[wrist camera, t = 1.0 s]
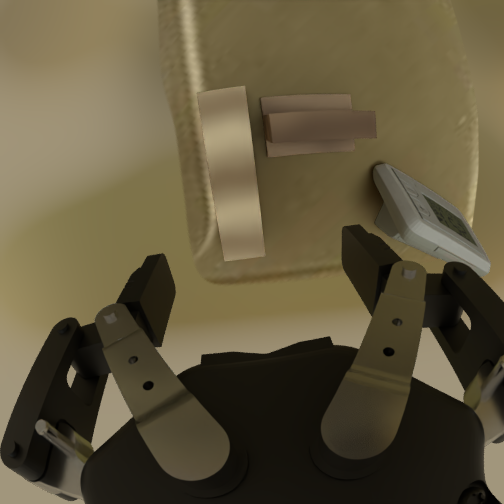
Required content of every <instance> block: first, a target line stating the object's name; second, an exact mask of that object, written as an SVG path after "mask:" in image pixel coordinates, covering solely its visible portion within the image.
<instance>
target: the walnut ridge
mask: <svg viewBox="0 0 504 504" xmlns="http://www.w3.org/2000/svg"><path fill="white" fill-rule="evenodd" d="M260 102H261V109H262V117H263V124H264V132H265V140H266V148H267V157H268V158H269V157H278V156H288V155H299V154H311V153H325V152H343V151H355V142H354V138H377V134H376V118H375V111H352V104H351V94H306V95H286V96H272V97H261V98H260Z"/></svg>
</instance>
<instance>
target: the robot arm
mask: <svg viewBox="0 0 504 504" xmlns="http://www.w3.org/2000/svg"><path fill="white" fill-rule="evenodd" d="M342 265H343V269H344V271H345V273H346V274H347V276H348V277H349V279H350V281H351V282H352V284H353V285H354V287H355V289H356V291H357V292H358V294H359V295H360V297H361V299H362V301H363V302H364V304H365V306H366V307H367V309H368V311H369V313H370V314H371V316H372V319H371V322H370V324H369V327H368V329H367V332H366V334H365V336H364V339H363V341H362V344H361V346H360V348H359V349H357V348H353V347H348V346H341V345H333V343H332V340H331V338H330V337H324V338H319V339H314V340H308V341H303V342H298V343H296V344H293V345H290V346H288V347H285V348H282V349H279V350H276V351H274V352H271V353H267V354H258V353H243V352H224V353H214V354H203V355H202V356H201V364H200V365H196V366H194V367H191V368H189V369H187V370H185V371H183V372H182V373H180V374H178V375H177V376H176V375H175V374H174V373H173V371H172V370H171V369H170V367H169V366H168V365H167V363H166V362H165V361H164V360H163V358H162V357H161V355H160V354H159V353H158V351H157V350H156V348H155V347H161V346H162V342H163V338H164V334H165V330H166V327H167V323H168V320H169V316H170V312H171V309H172V305H173V302H174V298H175V293H176V291H175V284H174V280H173V277H172V274H171V271H170V268H169V265H168V262H167V259H166V257H165V255H164V254H163V253H162V254H157V255H150V256H147V257H146V259H145V261H144V263H143V265H142V266H141V268H138V269H137V270H136V271H135V272H134V273H133V274H132V275H131V276H130V278H129V280H128V283H126V285H125V288H124V289H123V291H122V292H121V294H120V296H119V298H118V300H117V302H116V303H115V304H111V305H108V306H106V307H104V308H103V309H102V310H100V311H99V312H98V314H97V315H96V317H95V322H94V323H92V324H88V325H85V326H82V327H81V326H80V324H79V323H78V321H77V319H75V318H66V319H63V320H61V321H60V322H59V323H57V324H56V325H55V326H54V327H53V329H52V331H51V332H50V334H49V336H48V338H47V340H46V341H45V343H44V345H43V347H42V349H41V351H40V353H39V355H38V356H37V358H36V360H35V362H34V364H33V366H32V368H31V370H30V373H29V375H28V377H27V379H26V381H25V383H24V385H23V388H22V390H21V392H20V395H19V397H18V399H17V402H16V404H15V407H14V409H13V412H12V414H11V417H10V420H9V422H8V425H7V428H6V431H5V434H4V437H3V440H2V443H1V448H0V454H1V459H2V461H3V463H4V464H5V465H6V466H7V467H8V468H10V469H11V470H13V471H14V472H16V473H17V474H19V475H21V476H22V477H23V478H24V479H26V480H27V481H29V482H30V483H32V484H34V485H36V486H37V487H39V488H41V489H43V490H45V491H47V492H49V493H51V494H55V495H57V496H59V497H61V498H63V499H65V500H68V501H74V500H77V499H81V500H84V502H85V504H502V503H500V502H499V501H498V500H497V499H496V498H495V496H494V495H493V494H492V493H491V492H490V490H489V489H488V487H487V484H486V481H485V474H484V447H485V446H486V445H488V444H490V443H491V442H492V443H501V442H503V441H504V302H503V301H502V300H501V299H500V297H499V296H498V295H497V294H496V293H495V292H494V291H493V290H492V289H491V288H490V287H489V286H488V285H487V284H486V283H485V281H484V280H483V279H482V278H480V276H479V275H478V274H477V273H476V272H475V271H474V270H473V269H472V268H471V267H469V266H468V265H466V264H464V263H461V262H456V261H452V262H448V263H446V264H445V266H444V270H443V273H442V274H427V272H426V270H425V268H424V267H423V266H422V265H420V264H418V263H416V262H413V261H403V260H402V259H401V258H400V257H399V256H398V255H397V254H396V253H395V252H394V251H393V250H392V249H390V247H389V246H388V245H387V244H386V243H385V242H384V241H383V240H382V239H381V238H380V237H378V236H376V235H374V234H372V233H368V232H367V231H366V230H365V229H364V228H363V227H362V226H361V225H359V224H358V225H351V226H344V227H343V229H342ZM463 310H464V311H465V312H466V313H467V315H468V316H469V318H470V320H471V330H469V329H468V327H467V326H466V324H465V323H464V322H463V320H462V319H461V315H462V312H463ZM427 327H429V328H430V330H431V331H432V333H433V335H434V336H435V338H436V339H437V341H438V343H439V345H440V346H441V348H442V350H443V351H444V353H445V355H446V357H447V358H448V360H449V362H450V364H451V365H452V367H453V369H454V371H455V373H456V375H457V376H458V378H459V381H460V382H461V384H462V386H463V388H464V390H465V392H464V397H463V400H464V403H463V402H461V401H459V400H457V399H455V398H453V397H451V396H449V395H447V394H445V393H443V392H441V391H439V390H437V389H435V388H433V387H431V386H429V385H427V384H425V383H423V382H421V381H419V380H418V379H416V378H414V377H412V374H413V370H414V366H415V362H416V357H417V352H418V347H419V342H420V337H421V331H422V328H427ZM71 365H72V367H73V368H74V369H75V370H76V372H77V373H76V375H75V378H74V381H73V383H72V386H71V388H70V387H69V385H68V383H67V373H68V371H69V368H70V366H71ZM109 373H112V374H113V377H114V379H115V381H116V383H117V385H118V387H119V389H120V391H121V394H122V396H123V398H124V400H125V402H126V404H127V405H128V407H129V409H130V411H131V413H132V415H133V417H132V418H131V419H130V420H129V421H128V422H127V423H126V424H125V425H124V426H122V427H121V428H120V429H119V430H118V431H117V432H116V433H115V434H114V435H113V436H112V437H111V438H109V439H108V440H107V441H106V442H105V443H104V444H103V445H102V446H101V447H99V448H98V449H97V450H96V451H95V452H94V450H93V447H92V445H91V442H92V437H93V432H94V428H95V424H96V419H97V415H98V411H99V407H100V403H101V400H102V396H103V392H104V389H105V385H106V381H107V378H108V374H109Z"/></svg>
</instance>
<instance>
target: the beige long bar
mask: <svg viewBox="0 0 504 504" xmlns="http://www.w3.org/2000/svg"><path fill="white" fill-rule="evenodd" d="M197 95H198V103H199V110H200V117H201V123H202V130H203V137H204V143H205V150H206V156H207V163H208V169H209V175H210V181H211V187H212V193H213V199H214V205H215V210H216V216H217V222H218V227H219V233H220V238H221V244H222V249H223V255H224V260H225V261H231V260H239V259H247V258H254V257H262V256H265V248H264V239H263V230H262V221H261V212H260V203H259V195H258V186H257V178H256V169H255V161H254V153H253V145H252V137H251V129H250V121H249V113H248V105H247V97H246V90H245V86H239V87H231V88H224V89H217V90H211V91H205V92H199V93H197Z"/></svg>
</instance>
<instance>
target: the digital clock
mask: <svg viewBox="0 0 504 504" xmlns="http://www.w3.org/2000/svg"><path fill="white" fill-rule="evenodd" d="M373 179H374V182H375V184H376V187H377V188H378V190H379V192H380V194H381V196H382V198H383V200H384V203H383V205H382V207H381V210H380V212H379V214H378V216H377V218H376V220H375V225H377V226H378V227H379V228H380V229H381V230H382V231H383V232H385V233H386V234H387V235H388V236H389V237H391V238H393V239H396V240H398V241H400V242H403V243H405V244H407V245H409V246H412V247H414V248H416V249H418V250H421V251H423V252H425V253H427V254H429V255H431V256H434V257H436V258H439V259H442V260H444V261H446V262H452V261H456V262H461V263H464V264H466V265H468V266H469V267H471V268H472V269H473V270H474V271H475V272H476V273H477V274H478V275H479V276H480V277H481V276H485V275H486V274H488V273H489V270H490V264H491V263H490V260H489V258H488V256H487V255H486V253H485V251H484V249H483V247H482V246H481V244H480V242H479V240H478V239H477V237H476V235H475V234H474V232H473V231H472V229H471V227H470V226H469V224H468V223H467V221H466V219H465V218H464V216H463V215H462V213H461V212H460V211H459V210H458V209H457V208H456V207H455V206H453V205H452V204H451V203H449V202H448V201H446V200H445V199H443V198H442V197H441V196H439V195H438V194H436V193H435V192H433V191H432V190H430V189H428V188H427V187H425V186H424V185H422V184H421V183H419V182H417V181H416V180H414V179H413V178H411V177H409V176H408V175H406V174H404V173H403V172H401V171H399V170H397V169H396V168H394V167H392V166H390V165H388V164H386V163H385V164H380V165H376V166H375V167H374V170H373Z"/></svg>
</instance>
